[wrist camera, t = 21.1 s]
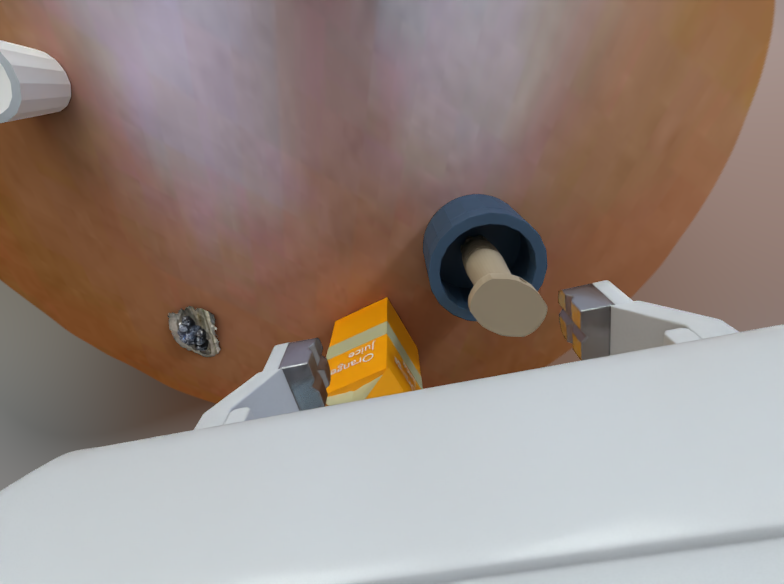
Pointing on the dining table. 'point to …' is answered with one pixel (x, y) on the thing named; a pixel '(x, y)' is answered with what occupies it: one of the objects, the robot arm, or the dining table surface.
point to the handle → (499, 292)
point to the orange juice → (371, 356)
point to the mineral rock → (195, 331)
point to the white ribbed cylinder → (30, 83)
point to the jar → (498, 228)
